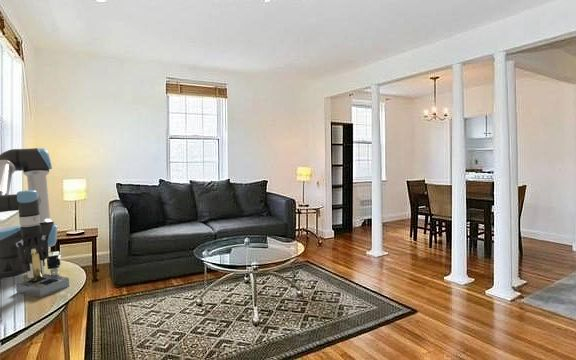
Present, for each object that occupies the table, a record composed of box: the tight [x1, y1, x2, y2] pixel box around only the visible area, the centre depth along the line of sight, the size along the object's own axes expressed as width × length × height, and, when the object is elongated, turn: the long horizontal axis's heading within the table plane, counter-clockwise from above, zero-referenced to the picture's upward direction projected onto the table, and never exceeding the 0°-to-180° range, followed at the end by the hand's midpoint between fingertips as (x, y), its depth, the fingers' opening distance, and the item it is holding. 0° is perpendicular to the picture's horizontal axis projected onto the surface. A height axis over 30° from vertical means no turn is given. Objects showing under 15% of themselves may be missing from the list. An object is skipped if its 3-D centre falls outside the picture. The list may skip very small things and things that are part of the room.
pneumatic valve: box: [46, 250, 63, 276], centre depth 180 cm, size 6×12×12 cm, turn 28°
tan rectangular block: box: [30, 252, 42, 281], centre depth 162 cm, size 4×4×12 cm
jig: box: [15, 273, 70, 298], centre depth 162 cm, size 16×13×4 cm
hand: (36, 275), depth 163 cm, fingers closed on tan rectangular block, 4 cm apart
